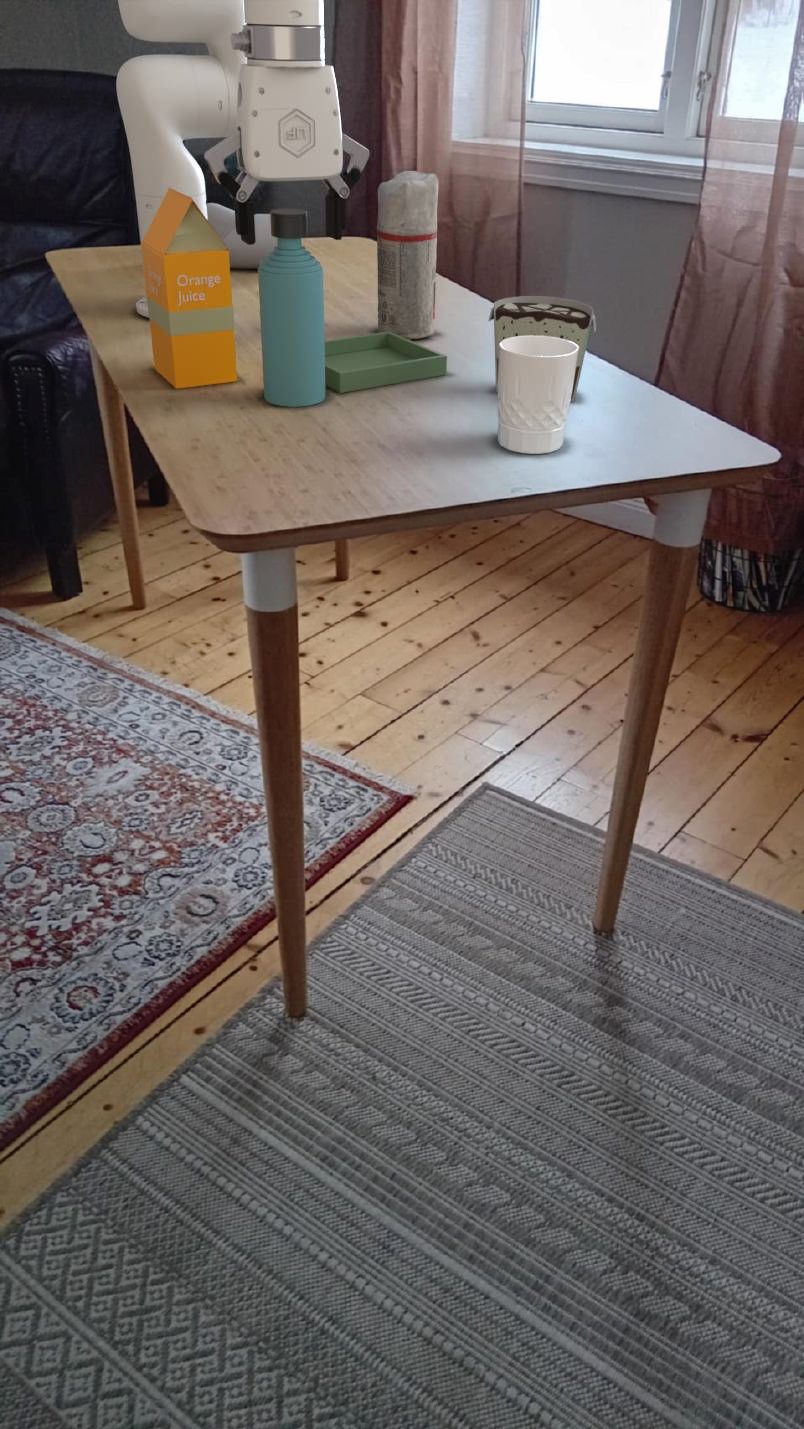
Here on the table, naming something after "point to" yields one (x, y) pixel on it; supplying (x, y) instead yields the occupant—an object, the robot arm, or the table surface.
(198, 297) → the orange juice
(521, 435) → the white cup
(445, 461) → the table surface
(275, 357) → the bottle
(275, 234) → the cap
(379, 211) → the spray can
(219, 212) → the bent grey cylinder
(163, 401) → the table surface
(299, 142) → the robot arm
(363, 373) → the tray
